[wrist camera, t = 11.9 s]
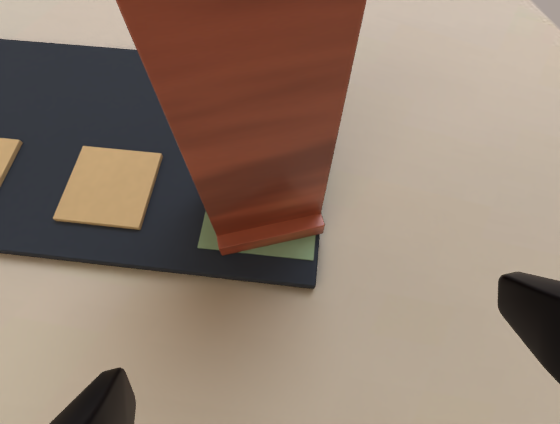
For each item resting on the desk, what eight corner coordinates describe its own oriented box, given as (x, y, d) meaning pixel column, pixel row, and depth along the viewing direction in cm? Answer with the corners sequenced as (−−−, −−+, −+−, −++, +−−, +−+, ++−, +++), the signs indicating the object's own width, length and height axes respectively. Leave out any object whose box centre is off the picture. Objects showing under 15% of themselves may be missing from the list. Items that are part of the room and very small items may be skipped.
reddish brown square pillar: (323, 233, 18) (396, -51, 6) (221, 256, 18) (102, -7, 6) (298, 153, 20) (320, -174, 8) (207, 172, 20) (96, -147, 8)
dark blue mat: (331, 72, 24) (333, 61, 23) (314, 289, 18) (316, 284, 17) (-26, 43, 25) (-36, 31, 24) (-154, 235, 19) (-174, 228, 18)
